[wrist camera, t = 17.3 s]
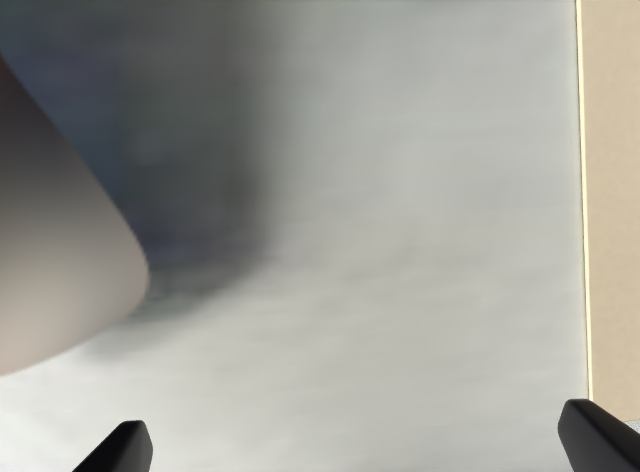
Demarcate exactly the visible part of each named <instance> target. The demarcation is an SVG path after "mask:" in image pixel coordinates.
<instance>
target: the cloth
mask: <svg viewBox="0 0 640 472" xmlns="http://www.w3.org/2000/svg"><path fill="white" fill-rule="evenodd" d="M576 4H577V34H578V65H579V96H580V127H581V157H582V188H583V219H584V250H585V280H586V311H587V342H588V373H589V400H591V401H592V402H594V403H595V404H597V405H598V406H600V407H601V408H603V409H604V410H606V411H607V412H608V413H610V414H611V415H613V416H614V417H616V418H617V419H619V420H620V421H622V422H625V421H632V420H638V419H640V0H576Z"/></svg>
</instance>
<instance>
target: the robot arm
mask: <svg viewBox="0 0 640 472" xmlns="http://www.w3.org/2000/svg"><path fill="white" fill-rule="evenodd" d="M558 434H559V437H560V440H561V442H562V444H563V447H564V449H565V451H566V454H567V456H568V459H569V461H570V463H571V466H572V468H573V470H574V472H640V434H639V433H638V432H636V431H635V430H633V429H632V428H630V427H629V426H627V425H626V424H624V423H623V422H622V421H620V420H619V419H617V418H616V417H614V416H613V415H611V414H610V413H608V412H607V411H606V410H604V409H603V408H601V407H600V406H598V405H597V404H595V403H594V402H592V401H591V400H588V399H570V400H568V401H566V403H565V405H564V408H563V411H562V414H561V417H560V419H559V422H558ZM152 455H153V446H152V442H151V439H150V436H149V433H148V431H147V428H146V425H145V423H144V422H143V421H141V420H136V421H124V422H122V423H121V424H120V425H118V426H117V427H116V428H115V429H114V430H113V431H112V432H111V433H110V434H109V435H108V436H107V437H106V438H105V439H104V440H103V441H102V442H101V443H100V444H99V445H98V446H97V447H96V448H95V449H94V450H93V451H92V452H91V453H90V454H89V455H88V456H87V457H86V458H85V459H84V460H83V461H82V462H81V463H80V464H79V465H78V466H77V467H76V468H75V469H74V470H73V471H72V472H149V469H150V464H151V460H152Z"/></svg>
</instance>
